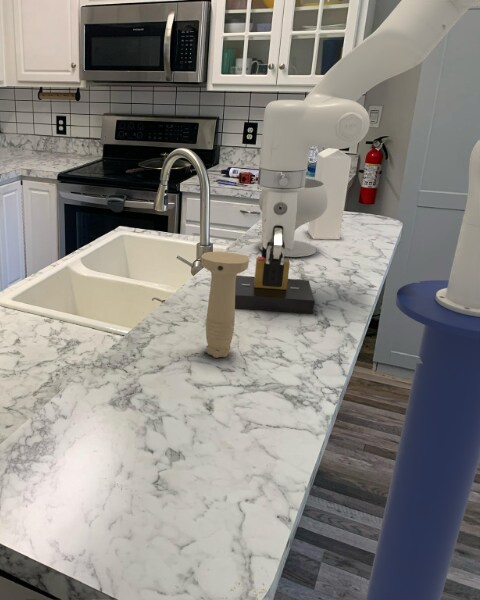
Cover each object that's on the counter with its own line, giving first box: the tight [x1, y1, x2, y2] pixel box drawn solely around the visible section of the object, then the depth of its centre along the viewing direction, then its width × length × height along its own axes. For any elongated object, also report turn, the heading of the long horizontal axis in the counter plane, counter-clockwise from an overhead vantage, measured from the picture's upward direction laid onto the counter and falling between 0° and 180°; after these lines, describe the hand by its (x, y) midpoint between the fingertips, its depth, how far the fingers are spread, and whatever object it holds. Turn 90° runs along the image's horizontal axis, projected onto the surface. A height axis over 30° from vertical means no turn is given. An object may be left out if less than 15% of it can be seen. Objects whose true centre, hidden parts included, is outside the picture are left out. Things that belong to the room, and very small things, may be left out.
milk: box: [307, 148, 352, 240], centre depth 141 cm, size 6×6×22 cm
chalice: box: [258, 177, 327, 258], centre depth 133 cm, size 14×14×15 cm
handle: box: [200, 251, 250, 359], centre depth 88 cm, size 5×6×15 cm
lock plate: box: [235, 275, 315, 315], centre depth 109 cm, size 14×10×3 cm
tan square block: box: [254, 255, 291, 290], centre depth 107 cm, size 6×2×5 cm, turn 76°
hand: (270, 276), depth 107 cm, fingers open, 9 cm apart
